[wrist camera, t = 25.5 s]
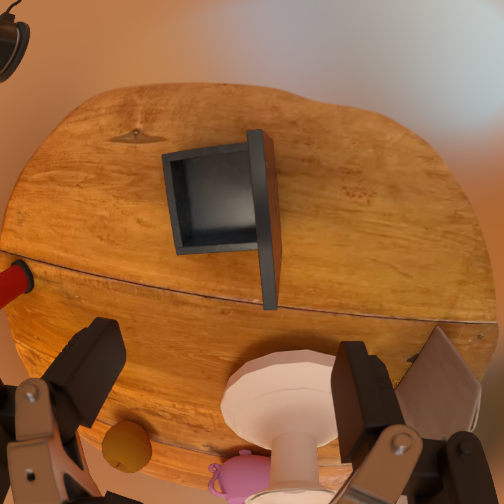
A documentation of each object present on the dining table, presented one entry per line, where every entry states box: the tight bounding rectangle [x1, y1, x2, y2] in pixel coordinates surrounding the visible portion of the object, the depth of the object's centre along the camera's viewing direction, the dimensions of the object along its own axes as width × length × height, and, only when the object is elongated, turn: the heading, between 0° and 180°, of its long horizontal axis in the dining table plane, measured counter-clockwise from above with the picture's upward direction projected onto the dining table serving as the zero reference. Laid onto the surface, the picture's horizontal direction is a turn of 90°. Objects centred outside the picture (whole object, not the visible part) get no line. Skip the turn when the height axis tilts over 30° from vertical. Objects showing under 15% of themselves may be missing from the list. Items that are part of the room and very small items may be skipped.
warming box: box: [162, 142, 258, 255], centre depth 29 cm, size 10×10×5 cm
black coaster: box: [11, 260, 34, 294], centre depth 37 cm, size 6×6×1 cm
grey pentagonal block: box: [394, 326, 482, 440], centre depth 28 cm, size 16×8×19 cm, turn 165°
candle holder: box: [220, 349, 338, 504], centre depth 30 cm, size 20×20×19 cm
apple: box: [102, 421, 152, 473], centre depth 42 cm, size 10×10×12 cm
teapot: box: [208, 450, 271, 504], centre depth 42 cm, size 20×14×12 cm
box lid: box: [247, 129, 282, 310], centre depth 20 cm, size 11×10×1 cm
